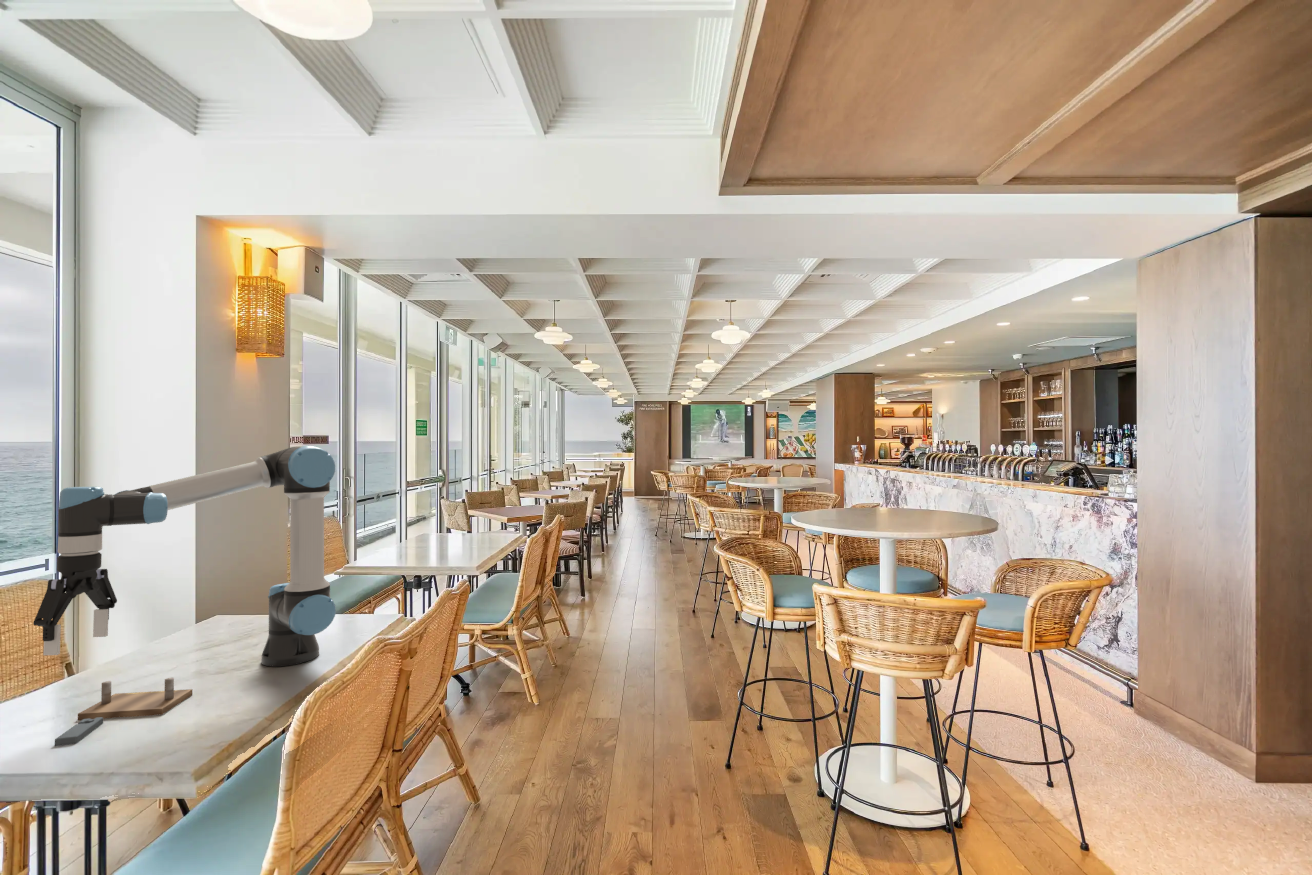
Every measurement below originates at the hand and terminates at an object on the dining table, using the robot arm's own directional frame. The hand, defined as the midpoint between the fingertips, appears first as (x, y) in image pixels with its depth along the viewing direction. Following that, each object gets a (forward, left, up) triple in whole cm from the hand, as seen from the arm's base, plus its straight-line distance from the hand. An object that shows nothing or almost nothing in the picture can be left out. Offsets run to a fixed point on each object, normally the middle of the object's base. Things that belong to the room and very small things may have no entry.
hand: (77, 645), depth 141 cm
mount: (-7, -9, -19) cm, 22 cm away
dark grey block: (-4, +5, -19) cm, 20 cm away
